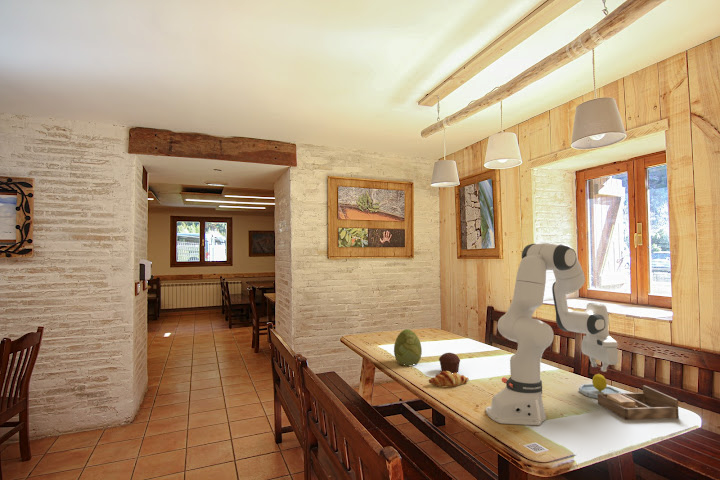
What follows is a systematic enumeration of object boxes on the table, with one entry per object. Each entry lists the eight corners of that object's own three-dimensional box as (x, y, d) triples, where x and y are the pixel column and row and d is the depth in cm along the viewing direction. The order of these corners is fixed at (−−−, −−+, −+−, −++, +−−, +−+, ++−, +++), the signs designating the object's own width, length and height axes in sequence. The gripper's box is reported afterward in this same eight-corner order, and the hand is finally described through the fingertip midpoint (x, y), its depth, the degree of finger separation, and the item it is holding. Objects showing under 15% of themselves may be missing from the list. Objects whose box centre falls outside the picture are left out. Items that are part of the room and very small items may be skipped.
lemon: (594, 388, 176) (593, 371, 176) (608, 391, 172) (607, 373, 173) (591, 391, 172) (590, 373, 172) (606, 394, 168) (605, 375, 169)
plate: (594, 400, 164) (594, 396, 164) (572, 387, 180) (572, 384, 180) (630, 399, 164) (630, 395, 164) (604, 386, 180) (604, 383, 180)
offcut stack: (623, 417, 148) (623, 403, 148) (606, 407, 157) (605, 394, 157) (639, 416, 148) (638, 402, 148) (621, 407, 157) (620, 393, 157)
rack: (625, 419, 145) (625, 401, 145) (597, 403, 161) (597, 386, 161) (678, 418, 145) (677, 399, 146) (645, 401, 161) (644, 385, 162)
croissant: (465, 387, 192) (462, 371, 196) (474, 384, 183) (470, 367, 187) (426, 390, 187) (424, 373, 191) (434, 387, 179) (430, 369, 183)
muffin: (449, 367, 214) (449, 349, 215) (464, 372, 205) (464, 353, 206) (434, 371, 208) (434, 353, 208) (449, 376, 199) (449, 357, 199)
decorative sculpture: (393, 367, 217) (393, 332, 217) (394, 359, 233) (393, 326, 234) (422, 367, 215) (421, 332, 215) (421, 359, 231) (420, 326, 232)
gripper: (577, 334, 183) (578, 362, 183) (606, 343, 163) (607, 376, 162) (589, 333, 183) (591, 362, 183) (620, 343, 163) (621, 375, 162)
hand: (599, 369), depth 172 cm, fingers open, 5 cm apart
